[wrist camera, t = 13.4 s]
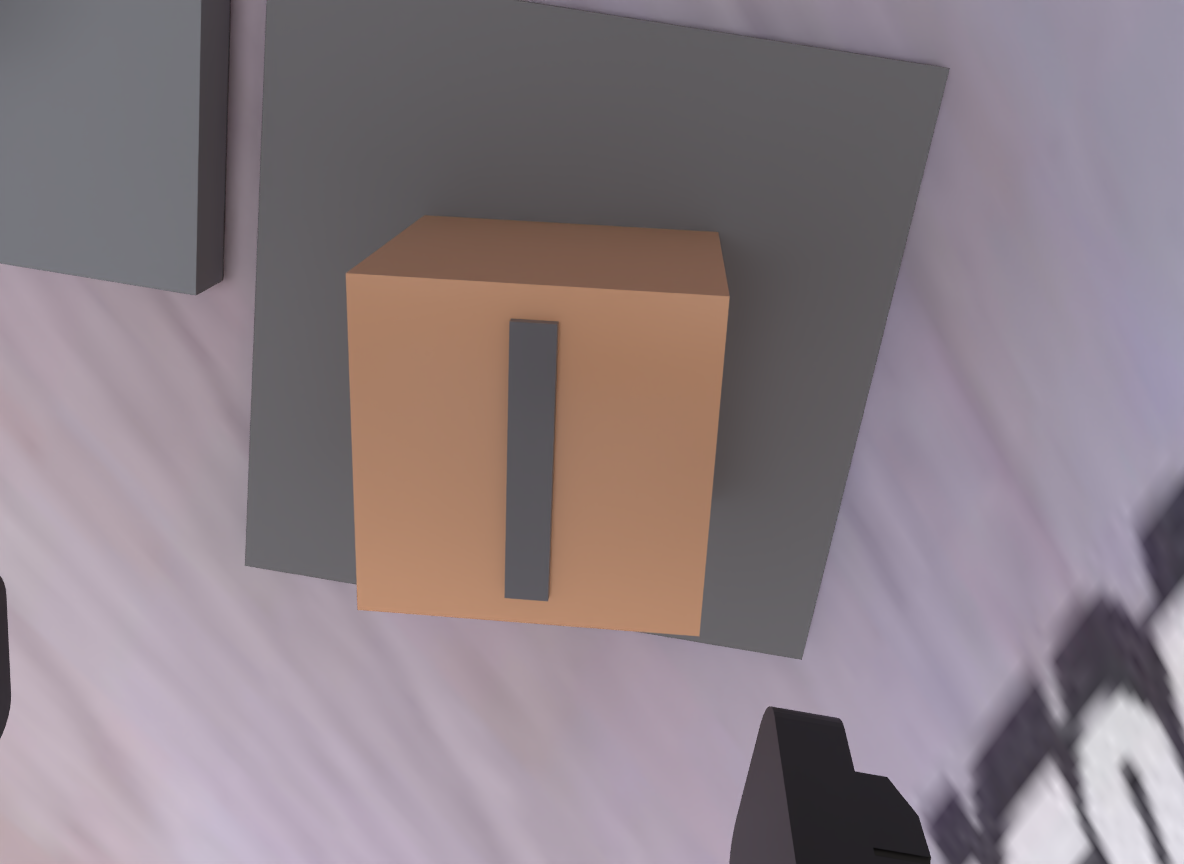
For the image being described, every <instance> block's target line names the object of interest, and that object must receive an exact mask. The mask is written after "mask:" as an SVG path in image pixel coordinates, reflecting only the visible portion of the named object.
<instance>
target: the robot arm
mask: <svg viewBox="0 0 1184 864" xmlns="http://www.w3.org/2000/svg"><path fill="white" fill-rule="evenodd" d="M10 703H11V684H10V663H9V642H8V620H7V599H6V589H5V585H4V582H3V580H2V578H1V577H0V738H1V736H2V734H3V731H4V728H5V726H6V722H7V719H8V715H9V710H10ZM930 860H931V856H930V852H929V849H928V846H927V843H926V839H925V836H924V833H923V829H922V826H921V823H920V820H919V816H918V815H917V814H916V812H915V811H914V810H913V809H912V807H911V806H910V805H909V804H908V802H907V801H906V800H905V799H904V798H903V796H902V795H901V794H900V793H899V791H898V790H897V789H896V788H895V786H894V785H893V784H892V783H891V781H890V780H889V779H888V778H887V777H883V776H878V775H872V774H866V773H860V772H855V771H854V766H853V762H852V758H851V754H850V750H849V746H848V741H847V737H846V733H845V729H844V726H843V723H842V721H841V720H840V719H839V718H835V717H829V716H823V715H817V714H811V713H806V712H800V711H794V710H788V709H782V708H776V707H770V706H769V707H768V708H767V709H766V711H765V713H764V715H763V718H762V721H761V724H760V728H759V732H758V736H757V740H756V744H755V748H754V752H753V756H752V759H751V763H750V767H749V771H748V775H747V779H746V783H745V787H744V791H743V795H742V799H741V803H740V807H739V810H738V814H737V818H736V822H735V827H734V832H733V838H732V844H731V852H730V863H729V864H930Z"/></svg>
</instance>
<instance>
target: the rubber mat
mask: <svg viewBox="0 0 1184 864" xmlns="http://www.w3.org/2000/svg"><path fill="white" fill-rule="evenodd" d="M949 69H950V68H945V67H939V66H932V65H926V64H920V63H913V62H907V61H900V60H894V59H888V58H881V57H875V56H869V55H862V54H856V53H850V52H843V51H837V50H831V49H824V48H818V47H812V46H805V45H799V44H792V43H786V42H780V41H773V40H767V39H761V38H754V37H748V36H742V35H735V34H729V33H723V32H716V31H710V30H703V29H697V28H691V27H684V26H678V25H672V24H665V23H659V22H653V21H646V20H640V19H634V18H627V17H621V16H615V15H608V14H602V13H595V12H589V11H583V10H576V9H570V8H564V7H557V6H551V5H545V4H538V3H532V2H526V1H519V0H267V4H266V30H265V56H264V82H263V109H262V135H261V161H260V187H259V213H258V239H257V265H256V291H255V317H254V343H253V369H252V396H251V422H250V448H249V474H248V500H247V526H246V552H245V566H250V567H256V568H262V569H268V570H274V571H280V572H286V573H292V574H298V575H304V576H310V577H316V578H321V579H327V580H333V581H339V582H345V583H351V584H357V579H356V551H355V523H354V494H353V466H352V437H351V409H350V381H349V352H348V324H347V295H346V273H347V272H348V271H349V270H351V269H352V268H354V267H355V266H356V265H358V264H359V263H360V262H362V261H363V260H364V259H366V258H367V257H368V256H370V255H371V254H372V253H374V252H375V251H377V250H378V249H379V248H381V247H382V246H383V245H385V244H386V243H387V242H389V241H390V240H391V239H393V238H394V237H396V236H397V235H398V234H400V233H401V232H402V231H404V230H405V229H406V228H408V227H409V226H410V225H412V224H413V223H414V222H416V221H417V220H419V219H420V218H421V217H423V216H424V215H429V216H447V217H464V218H482V219H499V220H517V221H534V222H552V223H569V224H587V225H604V226H622V227H639V228H657V229H674V230H692V231H709V232H718V233H719V238H720V244H721V250H722V256H723V261H724V267H725V273H726V278H727V284H728V290H729V296H730V298H729V309H728V321H727V332H726V343H725V354H724V365H723V377H722V388H721V399H720V410H719V421H718V433H717V444H716V455H715V466H714V477H713V489H712V500H711V511H710V522H709V533H708V545H707V556H706V567H705V578H704V589H703V601H702V612H701V623H700V634H699V636H688V635H675V634H662V633H649V632H641V633H647V634H653V635H659V636H665V637H671V638H677V639H683V640H689V641H694V642H700V643H706V644H712V645H718V646H724V647H730V648H736V649H742V650H748V651H754V652H760V653H765V654H771V655H777V656H783V657H789V658H795V659H801V660H802V656H803V652H804V648H805V644H806V640H807V636H808V632H809V628H810V624H811V620H812V616H813V612H814V608H815V604H816V600H817V596H818V592H819V588H820V584H821V580H822V576H823V572H824V568H825V564H826V560H827V556H828V552H829V548H830V544H831V540H832V536H833V532H834V528H835V524H836V520H837V516H838V512H839V508H840V504H841V500H842V496H843V492H844V488H845V484H846V480H847V476H848V472H849V468H850V464H851V460H852V456H853V453H854V449H855V445H856V441H857V437H858V433H859V429H860V425H861V421H862V417H863V413H864V409H865V405H866V401H867V397H868V393H869V389H870V385H871V381H872V377H873V373H874V369H875V365H876V361H877V357H878V353H879V349H880V345H881V341H882V337H883V333H884V329H885V325H886V321H887V317H888V313H889V309H890V305H891V301H892V297H893V293H894V289H895V285H896V281H897V277H898V273H899V269H900V265H901V261H902V257H903V253H904V249H905V245H906V241H907V237H908V233H909V229H910V225H911V221H912V217H913V213H914V209H915V205H916V201H917V197H918V193H919V189H920V185H921V181H922V177H923V173H924V169H925V165H926V161H927V157H928V153H929V149H930V145H931V141H932V137H933V133H934V129H935V125H936V121H937V117H938V113H939V109H940V105H941V101H942V97H943V93H944V89H945V85H946V81H947V77H948V73H949ZM635 632H637V631H635Z"/></svg>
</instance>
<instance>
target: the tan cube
mask: <svg viewBox="0 0 1184 864" xmlns="http://www.w3.org/2000/svg"><path fill="white" fill-rule="evenodd" d="M346 295H347V324H348V352H349V381H350V409H351V437H352V466H353V494H354V523H355V551H356V579H357V608H358V610H367V611H380V612H393V613H406V614H418V615H431V616H444V617H457V618H470V619H483V620H495V621H508V622H521V623H534V624H547V625H560V626H572V627H585V628H598V629H611V630H624V631H637V632H649V633H662V634H675V635H688V636H699V634H700V623H701V612H702V601H703V589H704V578H705V567H706V556H707V545H708V533H709V522H710V511H711V500H712V489H713V477H714V466H715V455H716V444H717V433H718V421H719V410H720V399H721V388H722V377H723V365H724V354H725V343H726V332H727V321H728V309H729V298H730V296H729V290H728V284H727V278H726V273H725V267H724V261H723V256H722V250H721V244H720V238H719V233H718V232H709V231H692V230H674V229H657V228H639V227H622V226H604V225H587V224H569V223H552V222H534V221H517V220H499V219H482V218H464V217H447V216H429V215H424V216H423V217H421V218H420V219H419V220H417V221H416V222H414V223H413V224H412V225H410V226H409V227H408V228H406V229H405V230H404V231H402V232H401V233H400V234H398V235H397V236H396V237H394V238H393V239H391V240H390V241H389V242H387V243H386V244H385V245H383V246H382V247H381V248H379V249H378V250H377V251H375V252H374V253H372V254H371V255H370V256H368V257H367V258H366V259H364V260H363V261H362V262H360V263H359V264H358V265H356V266H355V267H354V268H352V269H351V270H349V271H348V272H347V273H346Z"/></svg>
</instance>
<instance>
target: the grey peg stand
mask: <svg viewBox="0 0 1184 864" xmlns="http://www.w3.org/2000/svg"><path fill="white" fill-rule="evenodd" d="M229 25H230V0H0V263H1V264H7V265H13V266H20V267H26V268H32V269H38V270H44V271H50V272H56V273H62V274H68V275H74V276H81V277H87V278H93V279H99V280H105V281H111V282H117V283H123V284H129V285H135V286H142V287H148V288H154V289H160V290H166V291H172V292H178V293H184V294H190V295H197V294H199V293H201V292H203V291H205V290H206V289H208V288H210V287H212V286H214V285H215V284H217V283H219V282H221V281H223V245H224V208H225V171H226V135H227V98H228V62H229Z"/></svg>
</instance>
